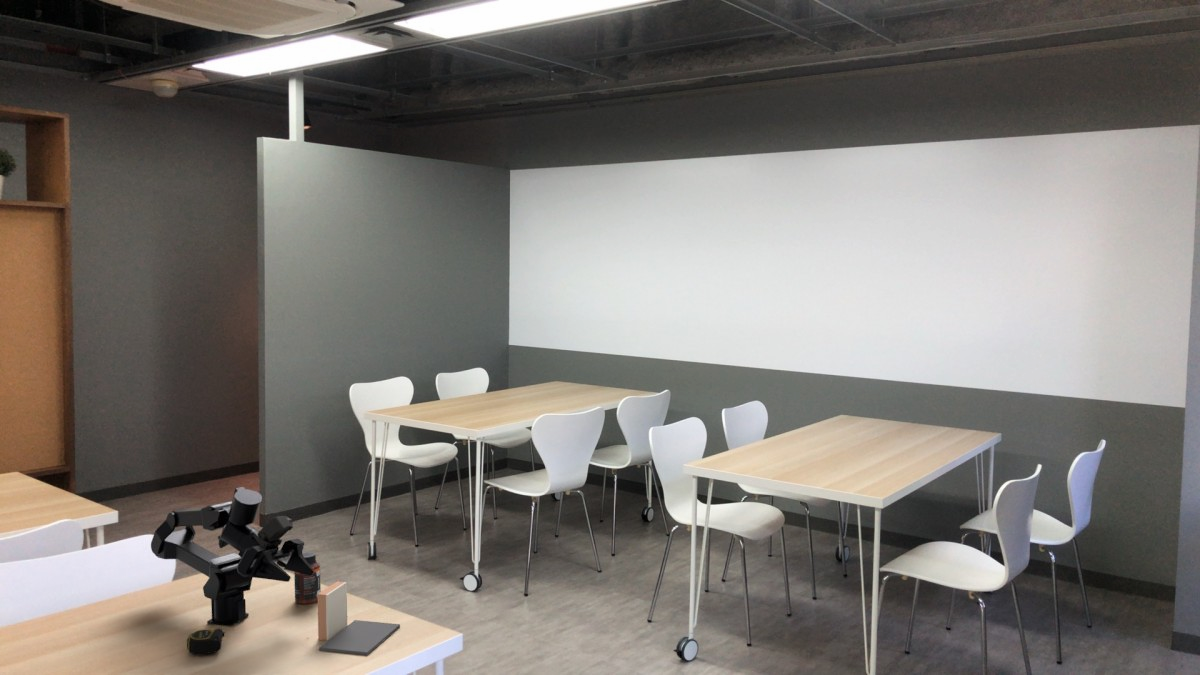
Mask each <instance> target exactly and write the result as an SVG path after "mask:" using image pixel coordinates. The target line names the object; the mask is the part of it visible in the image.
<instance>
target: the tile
mask: <svg viewBox="0 0 1200 675" xmlns="http://www.w3.org/2000/svg"><path fill="white" fill-rule="evenodd" d="M347 585H348V584H347V582H346V581H335V582H334V583H332V584H331V585H329V586H328V587H326V588H324V589H323V590H321V592H320V593H318V594H317V595H318V601H317V629H318V630H317V636H318V639H317V640H320V641H328V640H330V639H331V638H332V637H334V636H335V635H336V634H337V633H339V632H340V631H341V630H343V629H344V628H345V627H347V626H348V595H347V590H348V588H347V587H348V586H347Z"/></svg>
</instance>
